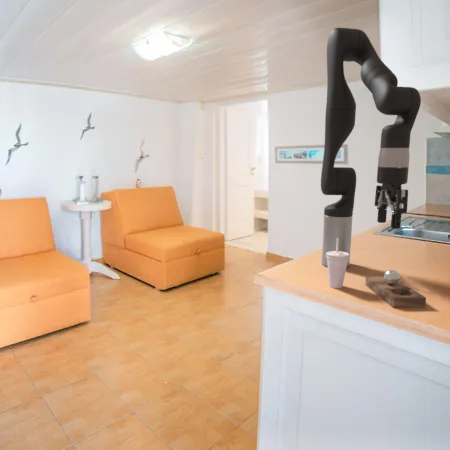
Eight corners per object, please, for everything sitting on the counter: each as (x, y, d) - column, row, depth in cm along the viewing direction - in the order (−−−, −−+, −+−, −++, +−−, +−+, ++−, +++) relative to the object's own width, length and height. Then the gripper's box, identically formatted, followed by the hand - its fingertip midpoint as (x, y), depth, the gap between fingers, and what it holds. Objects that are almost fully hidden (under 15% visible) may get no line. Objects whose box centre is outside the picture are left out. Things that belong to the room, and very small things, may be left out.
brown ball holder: (365, 284, 108) (366, 276, 108) (392, 284, 109) (393, 276, 108) (393, 307, 92) (393, 297, 91) (425, 307, 92) (426, 297, 91)
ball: (380, 281, 103) (381, 268, 102) (394, 281, 103) (395, 267, 102) (387, 286, 99) (388, 272, 98) (401, 286, 99) (403, 272, 99)
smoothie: (343, 282, 110) (345, 236, 108) (350, 289, 104) (354, 240, 102) (321, 282, 110) (323, 236, 108) (328, 290, 104) (330, 241, 101)
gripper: (368, 164, 106) (364, 221, 109) (391, 166, 92) (385, 230, 95) (394, 164, 106) (390, 220, 109) (421, 166, 92) (415, 230, 95)
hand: (388, 225), depth 102 cm, fingers open, 8 cm apart
